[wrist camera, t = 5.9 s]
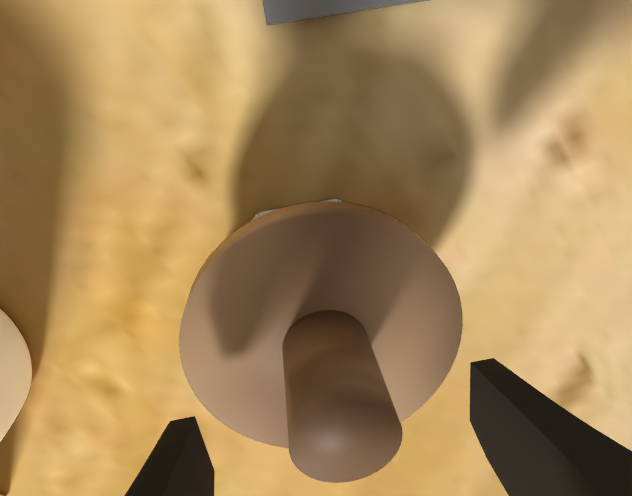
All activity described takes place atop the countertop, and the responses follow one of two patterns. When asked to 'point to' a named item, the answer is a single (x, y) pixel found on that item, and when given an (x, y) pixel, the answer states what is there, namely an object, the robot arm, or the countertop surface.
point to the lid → (321, 334)
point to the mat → (320, 8)
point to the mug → (12, 373)
